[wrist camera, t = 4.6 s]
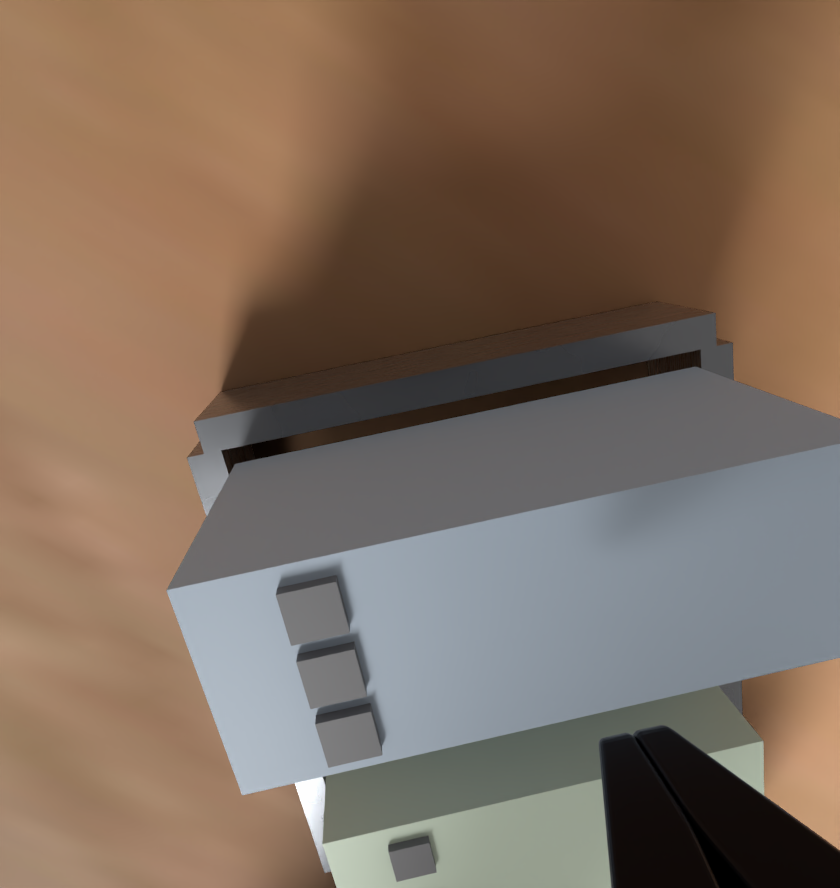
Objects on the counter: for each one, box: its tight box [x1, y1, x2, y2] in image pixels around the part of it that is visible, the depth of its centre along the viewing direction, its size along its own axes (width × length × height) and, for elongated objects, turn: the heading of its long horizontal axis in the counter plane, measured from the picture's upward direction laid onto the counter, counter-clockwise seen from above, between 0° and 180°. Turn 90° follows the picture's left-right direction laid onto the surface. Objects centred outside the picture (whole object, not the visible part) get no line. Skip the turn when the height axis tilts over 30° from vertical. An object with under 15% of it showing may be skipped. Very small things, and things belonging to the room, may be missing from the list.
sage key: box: [322, 686, 764, 888], centre depth 18 cm, size 11×4×6 cm, turn 101°
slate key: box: [167, 367, 840, 795], centre depth 12 cm, size 11×4×6 cm, turn 101°
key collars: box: [187, 302, 742, 873], centre depth 20 cm, size 13×24×3 cm, turn 11°
